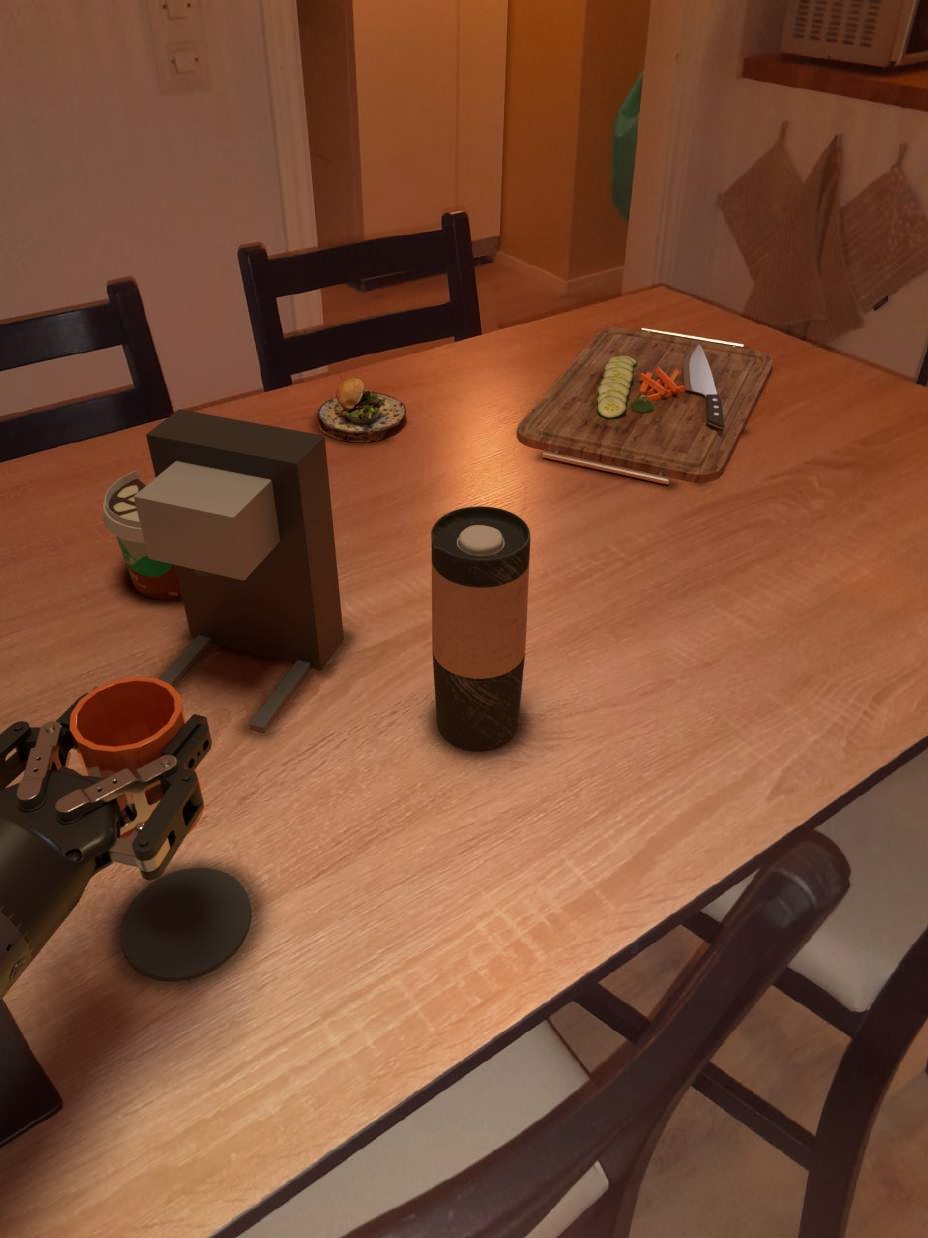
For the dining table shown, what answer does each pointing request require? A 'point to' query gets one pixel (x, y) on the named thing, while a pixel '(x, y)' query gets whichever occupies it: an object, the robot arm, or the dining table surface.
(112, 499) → the food container
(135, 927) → the coaster
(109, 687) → the cup
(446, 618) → the travel mug
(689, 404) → the chopping board
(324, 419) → the plate of food
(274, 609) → the coffee maker
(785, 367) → the dining table surface
